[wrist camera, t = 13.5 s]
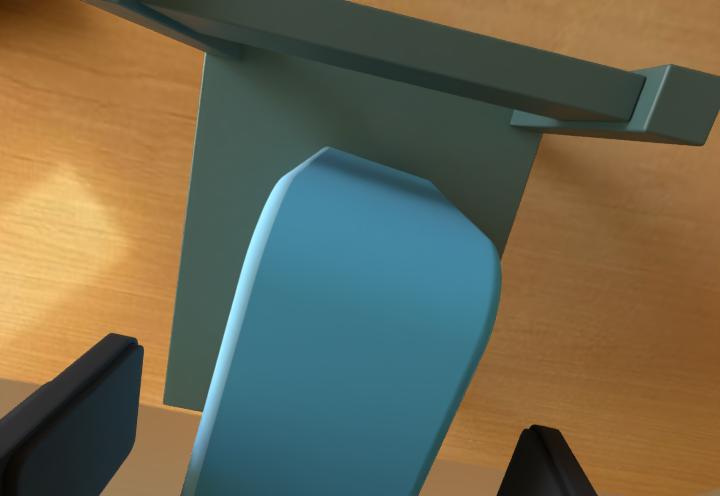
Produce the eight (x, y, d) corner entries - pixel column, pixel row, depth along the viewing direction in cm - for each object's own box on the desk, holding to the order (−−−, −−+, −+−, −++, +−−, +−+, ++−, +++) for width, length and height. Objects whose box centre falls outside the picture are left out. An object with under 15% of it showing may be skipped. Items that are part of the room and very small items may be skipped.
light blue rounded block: (342, 409, 22) (317, 726, 11) (253, 383, 22) (127, 682, 10) (428, 177, 19) (528, 268, 7) (326, 142, 19) (262, 181, 7)
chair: (498, 102, 26) (741, 74, 9) (417, 373, 31) (480, 673, 14) (257, 44, 25) (45, -102, 8) (214, 330, 30) (27, 595, 13)
